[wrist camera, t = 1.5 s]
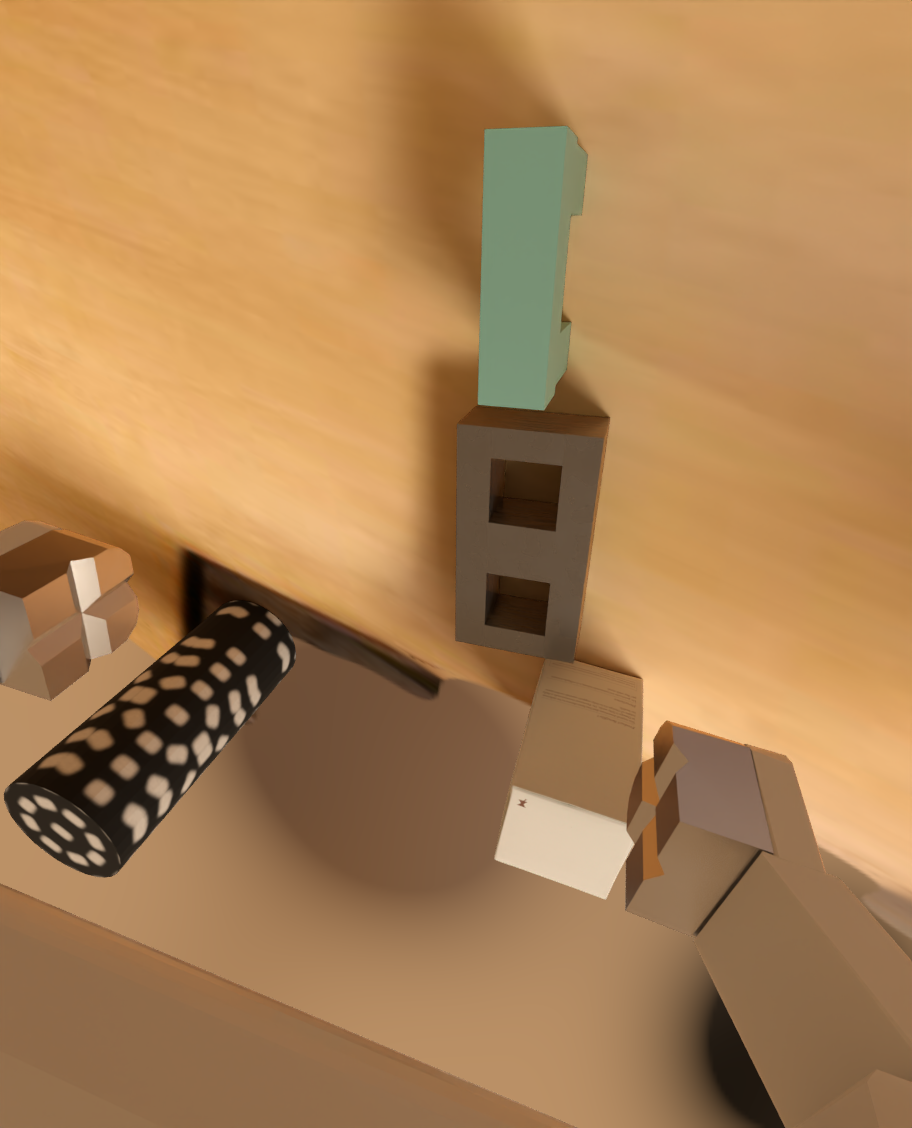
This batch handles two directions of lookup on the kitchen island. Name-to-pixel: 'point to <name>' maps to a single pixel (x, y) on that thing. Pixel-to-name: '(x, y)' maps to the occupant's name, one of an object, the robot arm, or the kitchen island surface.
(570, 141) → the green u-shaped block
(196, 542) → the kitchen island surface
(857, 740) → the kitchen island surface
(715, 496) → the kitchen island surface
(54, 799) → the white-spotted black cylinder
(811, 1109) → the robot arm
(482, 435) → the gray socket base
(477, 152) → the kitchen island surface
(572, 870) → the supplement box
